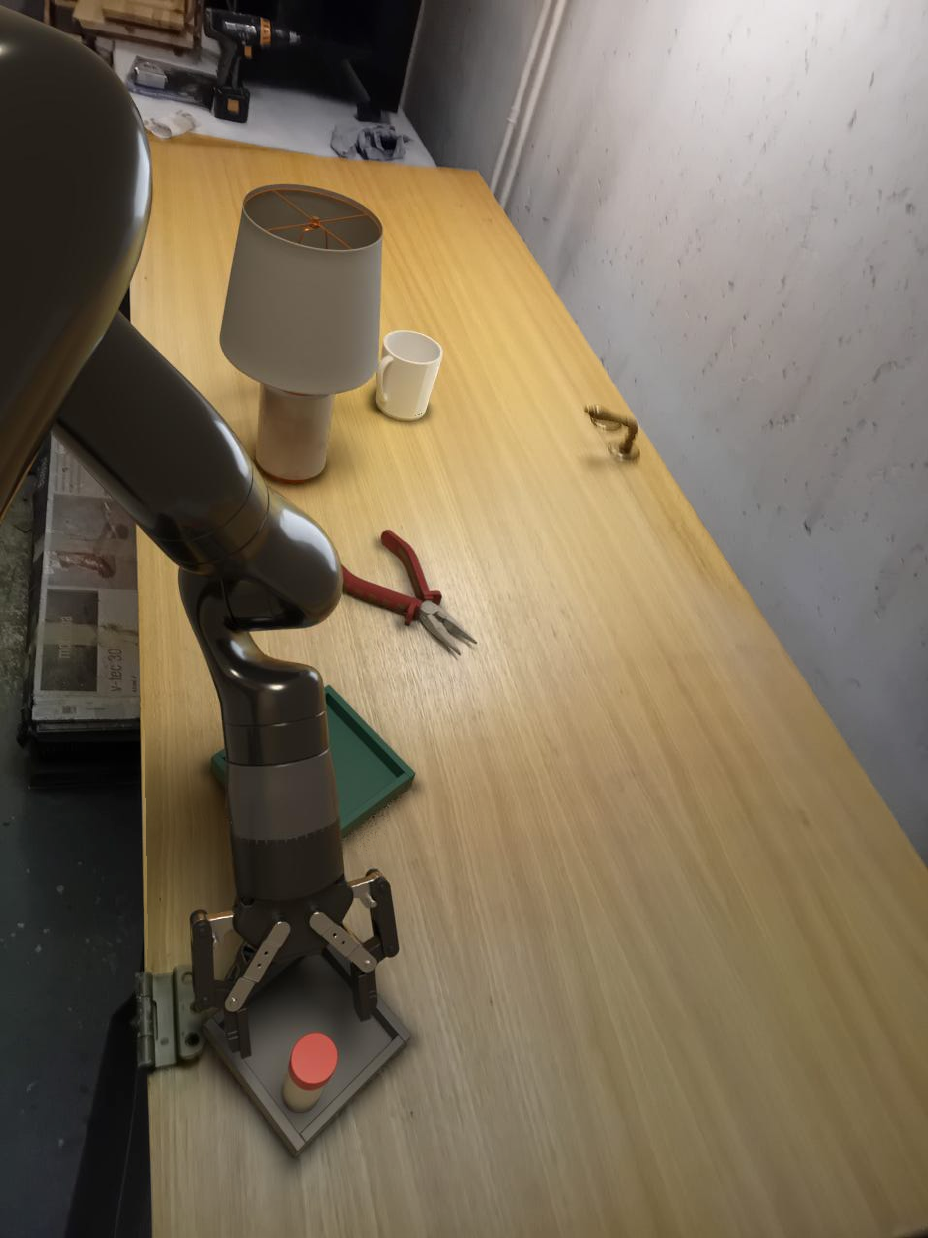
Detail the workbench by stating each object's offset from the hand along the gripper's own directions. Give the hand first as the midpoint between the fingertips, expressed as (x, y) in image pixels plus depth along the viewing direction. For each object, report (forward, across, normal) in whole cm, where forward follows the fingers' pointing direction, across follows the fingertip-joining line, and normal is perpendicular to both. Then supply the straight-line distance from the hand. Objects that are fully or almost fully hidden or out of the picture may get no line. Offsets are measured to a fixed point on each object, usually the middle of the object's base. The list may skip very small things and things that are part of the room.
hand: (305, 1033), depth 59 cm
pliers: (-26, +22, +39) cm, 52 cm away
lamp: (-45, +15, +58) cm, 75 cm away
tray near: (+5, +1, +7) cm, 9 cm away
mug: (-54, +34, +67) cm, 93 cm away
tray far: (-11, +7, +24) cm, 27 cm away
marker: (+7, 0, +4) cm, 9 cm away
